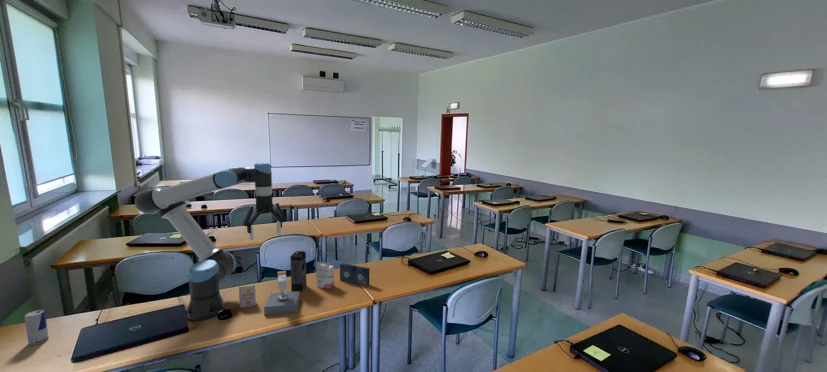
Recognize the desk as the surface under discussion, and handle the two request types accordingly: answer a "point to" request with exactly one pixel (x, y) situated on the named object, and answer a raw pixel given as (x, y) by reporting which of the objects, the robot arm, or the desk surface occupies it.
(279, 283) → the t key
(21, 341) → the desk surface
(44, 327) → the energy drink
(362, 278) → the vhs cassette tape
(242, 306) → the white red carton
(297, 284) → the electronic device
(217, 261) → the robot arm
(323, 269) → the ink cartridge box
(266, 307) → the grey flat square block
